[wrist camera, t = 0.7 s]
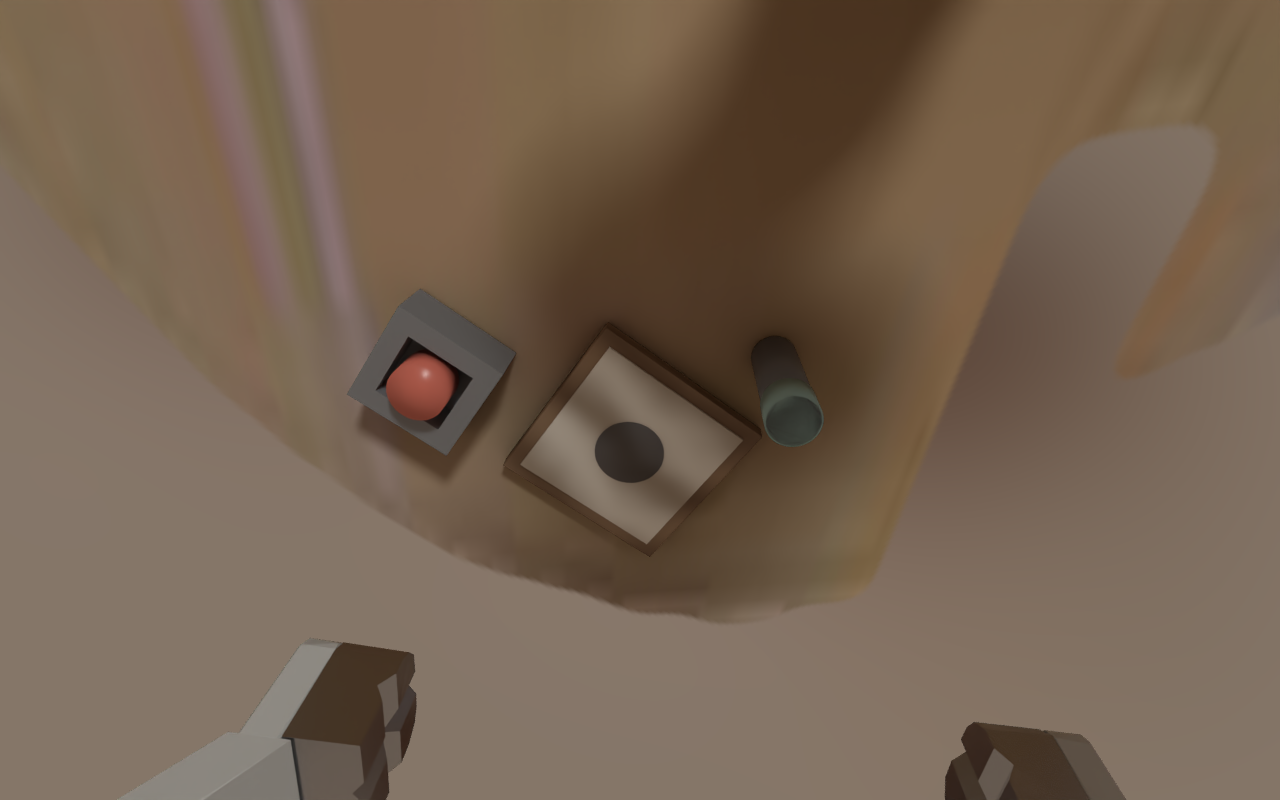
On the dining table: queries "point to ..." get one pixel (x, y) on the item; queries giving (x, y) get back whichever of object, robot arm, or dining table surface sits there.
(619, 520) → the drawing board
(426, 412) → the button
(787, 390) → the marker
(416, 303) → the button housing
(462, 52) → the dining table surface
